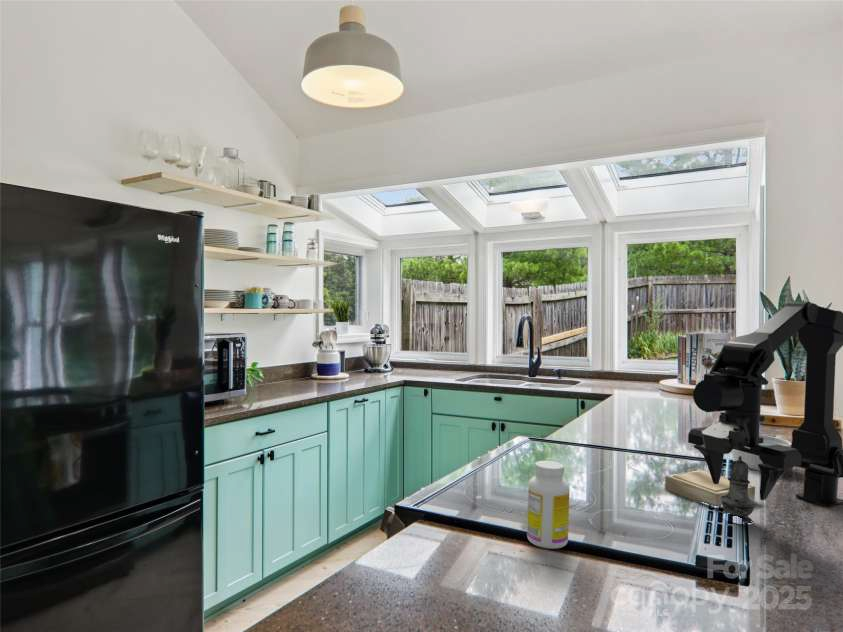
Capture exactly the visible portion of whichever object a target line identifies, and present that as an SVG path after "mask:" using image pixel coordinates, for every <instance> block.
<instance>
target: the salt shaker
mask: <svg viewBox="0 0 843 632" xmlns="http://www.w3.org/2000/svg"><path fill="white" fill-rule="evenodd" d="M738 459H739V460H737V461H734V460H733V461H732V462H731V463H730V475H729V477H727V478H728V480H729V481H730V484H729V492H728V494H727V495H723V496H721V497H720V499H721V500H722V505H723V507H724V508H723V509H724V510H725V511H726V513H727V512H728V513H730V515H732V516H738V517H740V518H742V519H743V522H745V523H752V522H753V523H754V520H753V519H752V518H750V517H749V515H751V514H752V513H753V512H754V509H755V507H756V506H757V503H756V502H755V500H754V501H753V500H750V499H749V496H748V485H751V481H750V480H749V468H748V465H747V463H745V462H743V461H742V460H741V459H742V458H741V456H740V457H739V458H738ZM752 520H753V521H752ZM751 521H752V522H751Z"/></svg>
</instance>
